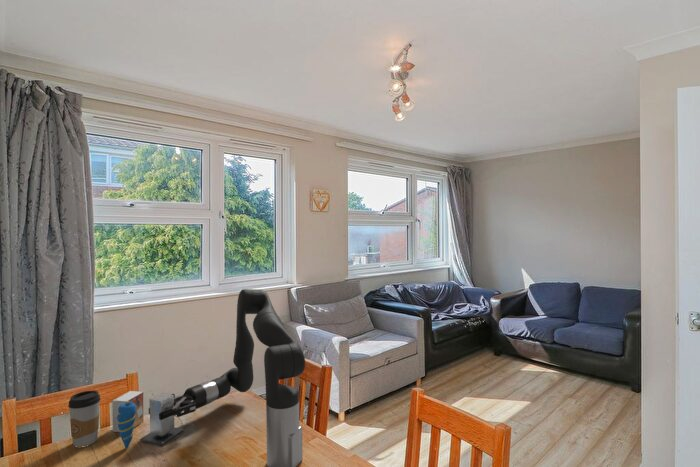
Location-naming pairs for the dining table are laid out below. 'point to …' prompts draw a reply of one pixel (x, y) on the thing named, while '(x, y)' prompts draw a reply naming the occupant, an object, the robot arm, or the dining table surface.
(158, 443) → the grey plate with post
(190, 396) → the robot arm
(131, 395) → the small box
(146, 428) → the dining table surface
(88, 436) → the coffee cup
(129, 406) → the ornament
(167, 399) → the brushed metal pedestal
